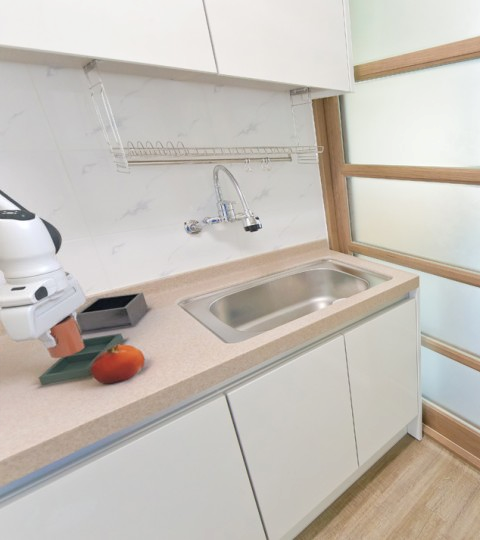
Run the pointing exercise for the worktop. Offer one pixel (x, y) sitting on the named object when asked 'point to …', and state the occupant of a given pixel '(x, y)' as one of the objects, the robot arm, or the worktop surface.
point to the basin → (112, 313)
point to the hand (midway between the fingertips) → (62, 337)
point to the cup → (66, 338)
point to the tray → (80, 360)
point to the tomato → (117, 364)
